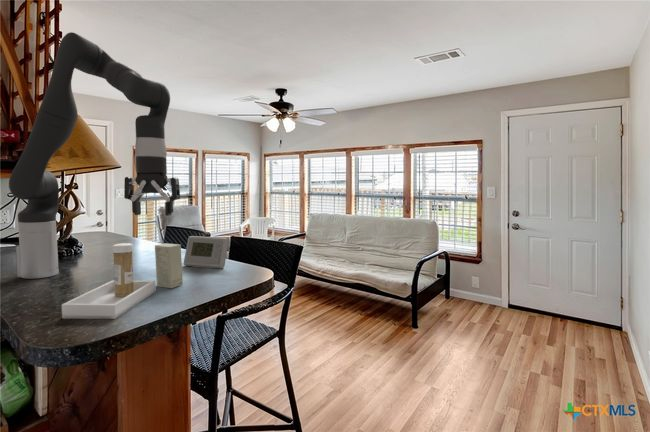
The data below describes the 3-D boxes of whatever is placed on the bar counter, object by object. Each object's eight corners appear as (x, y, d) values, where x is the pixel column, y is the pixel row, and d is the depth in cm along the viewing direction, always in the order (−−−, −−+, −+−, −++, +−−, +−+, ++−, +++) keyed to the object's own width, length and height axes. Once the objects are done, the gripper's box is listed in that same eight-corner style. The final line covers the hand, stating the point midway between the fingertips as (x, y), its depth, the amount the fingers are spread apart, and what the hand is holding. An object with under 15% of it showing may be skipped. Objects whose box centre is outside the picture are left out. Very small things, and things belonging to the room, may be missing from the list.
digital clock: (180, 266, 129) (180, 237, 128) (198, 261, 137) (198, 234, 136) (216, 271, 122) (216, 240, 121) (233, 266, 130) (233, 237, 129)
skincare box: (183, 285, 105) (182, 244, 104) (170, 289, 101) (169, 246, 100) (167, 282, 108) (166, 242, 107) (155, 286, 104) (154, 244, 103)
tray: (62, 318, 79) (61, 304, 78) (112, 291, 98) (112, 280, 98) (115, 318, 79) (114, 305, 79) (155, 291, 98) (155, 280, 98)
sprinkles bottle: (135, 295, 93) (133, 244, 92) (114, 298, 90) (113, 246, 89) (133, 291, 97) (131, 242, 95) (113, 293, 94) (111, 243, 93)
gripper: (116, 154, 93) (119, 216, 95) (171, 154, 93) (173, 216, 95) (132, 156, 101) (134, 213, 102) (182, 157, 101) (184, 214, 102)
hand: (153, 215), depth 98 cm, fingers open, 8 cm apart
